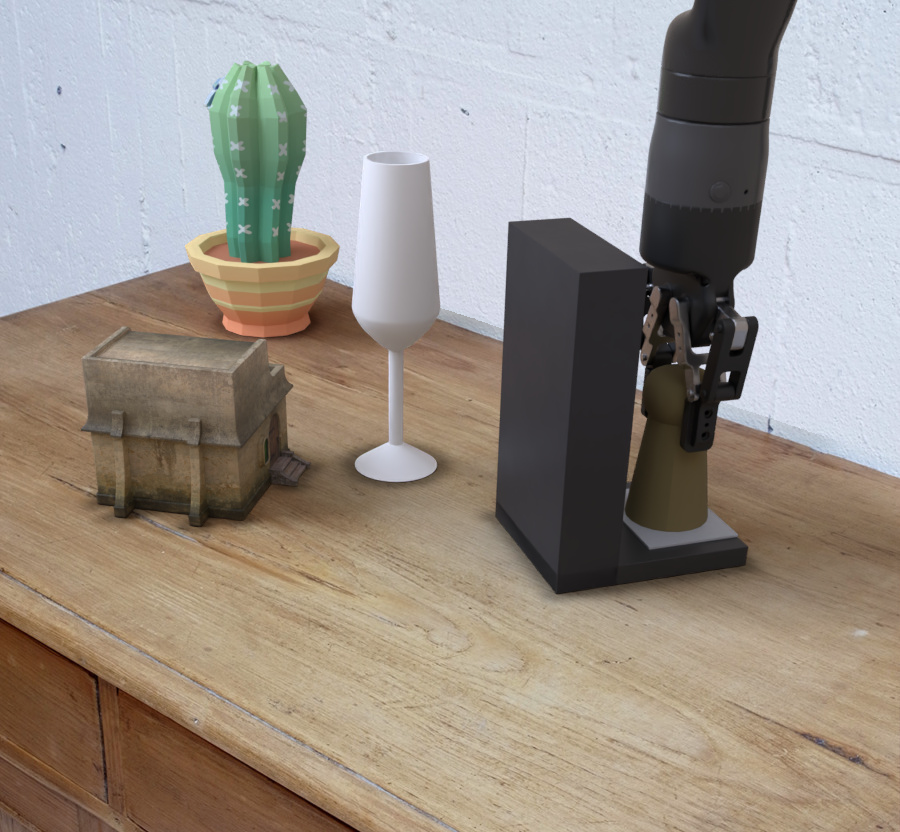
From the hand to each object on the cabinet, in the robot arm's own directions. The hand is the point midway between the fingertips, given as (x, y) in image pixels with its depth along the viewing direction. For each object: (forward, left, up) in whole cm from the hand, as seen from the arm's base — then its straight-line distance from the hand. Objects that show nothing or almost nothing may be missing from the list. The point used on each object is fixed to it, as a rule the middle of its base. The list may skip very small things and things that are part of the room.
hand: (675, 431), depth 93 cm
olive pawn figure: (0, 0, -7) cm, 7 cm away
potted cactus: (+18, -54, -8) cm, 58 cm away
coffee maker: (+4, 0, -8) cm, 9 cm away
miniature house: (+30, -18, -8) cm, 36 cm away
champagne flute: (+15, -17, -8) cm, 24 cm away
